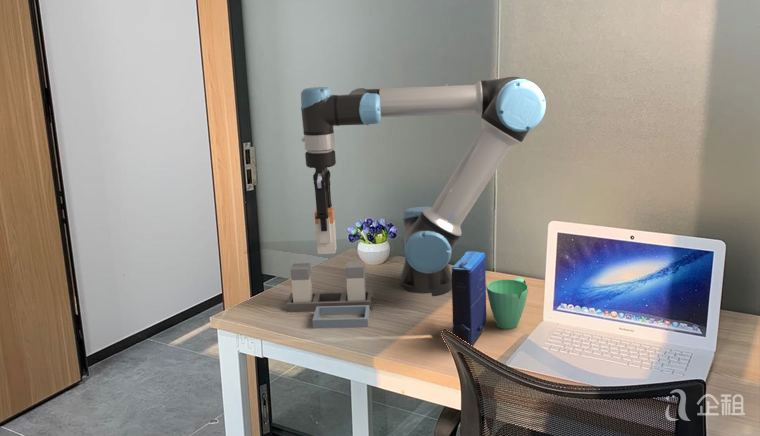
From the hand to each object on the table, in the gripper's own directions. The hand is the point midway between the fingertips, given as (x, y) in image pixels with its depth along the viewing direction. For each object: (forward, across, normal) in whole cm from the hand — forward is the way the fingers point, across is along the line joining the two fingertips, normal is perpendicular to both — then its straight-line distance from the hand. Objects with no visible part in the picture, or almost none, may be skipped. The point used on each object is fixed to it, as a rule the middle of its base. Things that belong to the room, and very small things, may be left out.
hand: (326, 239), depth 177 cm
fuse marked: (+3, 0, 0) cm, 3 cm away
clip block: (+19, 0, 0) cm, 19 cm away
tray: (+19, +10, +4) cm, 22 cm away
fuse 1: (+18, 0, -8) cm, 20 cm away
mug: (+20, +12, +46) cm, 51 cm away
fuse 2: (+18, 0, +7) cm, 20 cm away
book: (+20, +20, +35) cm, 45 cm away
